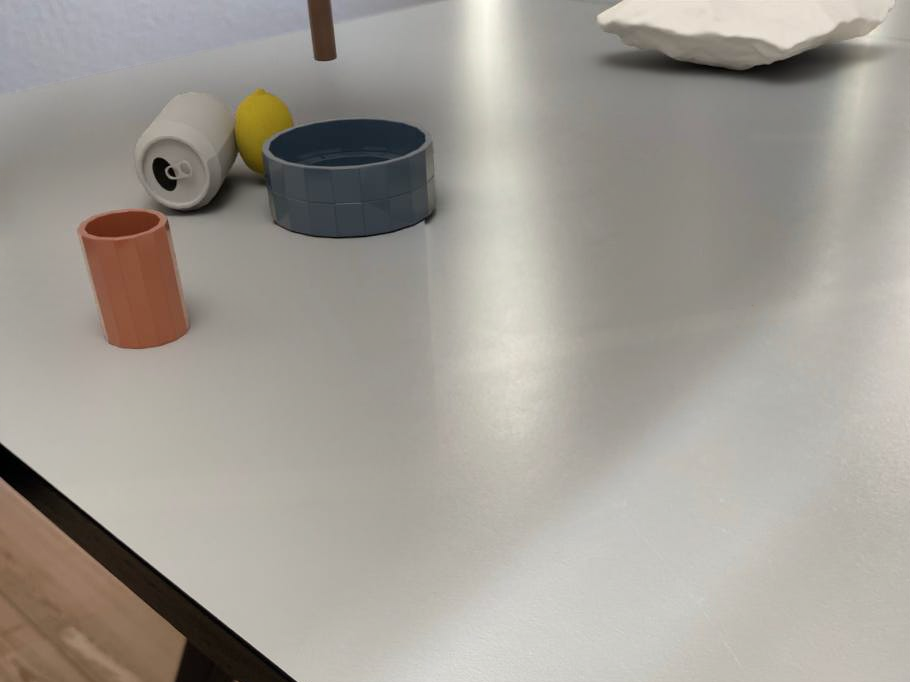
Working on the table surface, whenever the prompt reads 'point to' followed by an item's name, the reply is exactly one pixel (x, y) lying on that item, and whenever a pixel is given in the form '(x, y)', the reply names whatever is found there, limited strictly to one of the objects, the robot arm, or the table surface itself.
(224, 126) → the can
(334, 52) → the stick
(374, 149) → the bowl
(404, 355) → the table surface
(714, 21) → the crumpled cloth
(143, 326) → the holder
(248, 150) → the lemon
